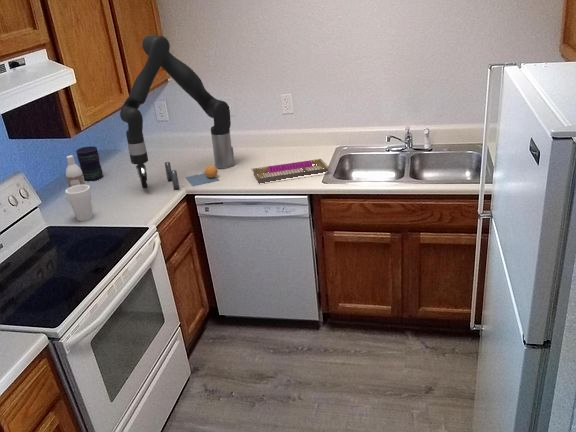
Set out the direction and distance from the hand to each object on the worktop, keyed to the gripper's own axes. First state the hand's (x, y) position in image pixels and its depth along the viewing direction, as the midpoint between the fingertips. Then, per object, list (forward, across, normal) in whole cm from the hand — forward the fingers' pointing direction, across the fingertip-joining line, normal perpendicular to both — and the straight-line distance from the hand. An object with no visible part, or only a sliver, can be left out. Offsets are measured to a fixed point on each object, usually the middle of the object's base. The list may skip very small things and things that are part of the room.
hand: (144, 187), depth 240 cm
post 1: (+2, +7, -13) cm, 15 cm away
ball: (-2, -1, -31) cm, 31 cm away
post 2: (+2, -7, -13) cm, 15 cm away
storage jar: (+2, +32, +20) cm, 38 cm away
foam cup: (+2, -16, +28) cm, 32 cm away
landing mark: (+2, 0, -27) cm, 27 cm away
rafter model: (+2, -18, -65) cm, 68 cm away
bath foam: (+2, +8, +28) cm, 29 cm away
